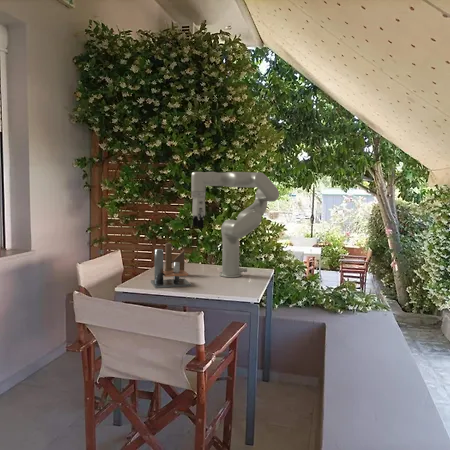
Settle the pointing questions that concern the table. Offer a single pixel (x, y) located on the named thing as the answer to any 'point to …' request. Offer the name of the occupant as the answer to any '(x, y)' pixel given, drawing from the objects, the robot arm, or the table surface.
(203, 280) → the table surface
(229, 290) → the table surface
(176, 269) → the wedge pin
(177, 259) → the brown slanted frame
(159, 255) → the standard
